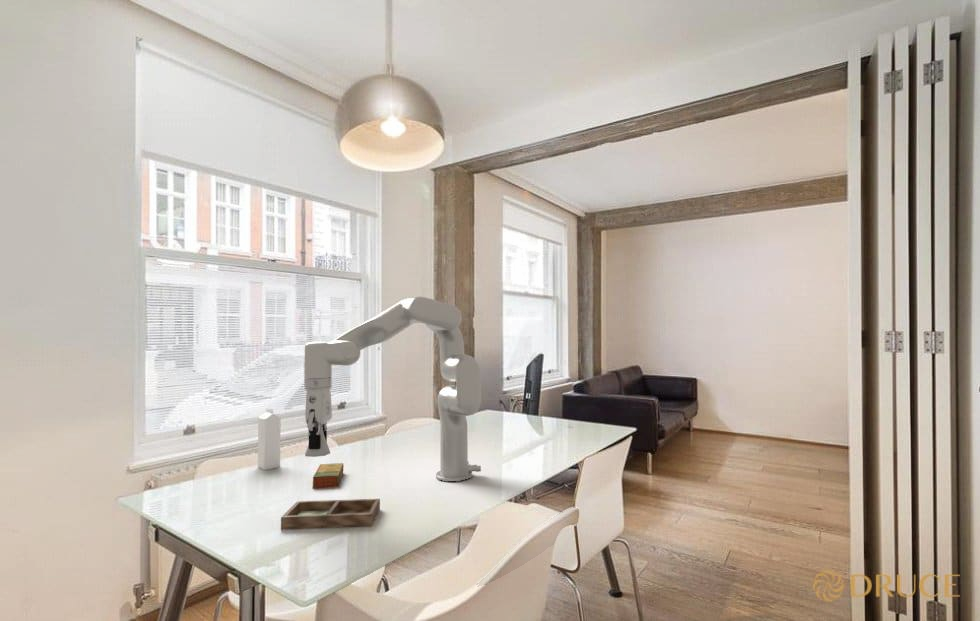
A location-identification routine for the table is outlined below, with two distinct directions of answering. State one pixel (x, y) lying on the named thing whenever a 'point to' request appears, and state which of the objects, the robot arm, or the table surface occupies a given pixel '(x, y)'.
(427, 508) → the table surface
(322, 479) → the carton
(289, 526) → the holder
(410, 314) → the robot arm
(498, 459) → the table surface
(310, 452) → the flask
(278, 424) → the milk
